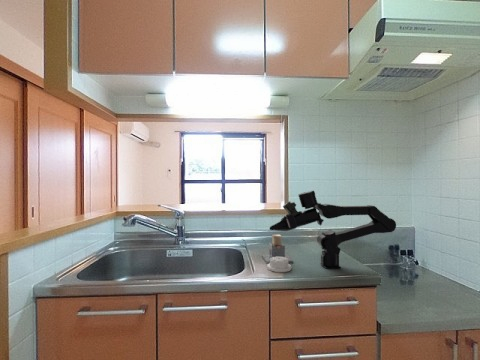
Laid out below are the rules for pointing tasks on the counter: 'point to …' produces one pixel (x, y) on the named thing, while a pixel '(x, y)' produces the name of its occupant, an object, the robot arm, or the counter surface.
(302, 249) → the counter surface
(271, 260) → the mechanical component
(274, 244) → the birch post
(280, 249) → the metal stand
